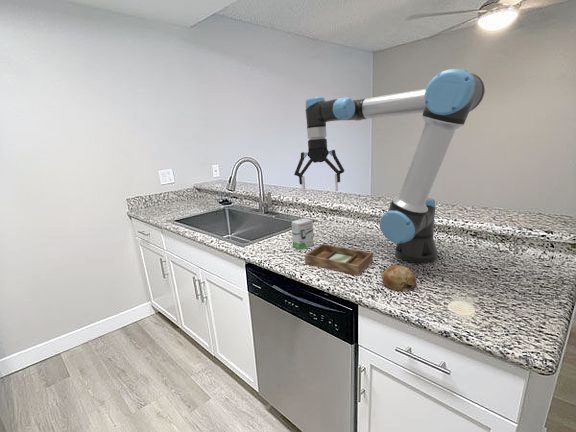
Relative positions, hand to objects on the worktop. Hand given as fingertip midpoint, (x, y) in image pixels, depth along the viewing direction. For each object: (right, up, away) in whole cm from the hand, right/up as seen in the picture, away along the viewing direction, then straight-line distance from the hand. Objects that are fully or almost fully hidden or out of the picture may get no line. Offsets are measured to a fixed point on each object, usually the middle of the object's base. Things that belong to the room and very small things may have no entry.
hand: (320, 191), depth 126 cm
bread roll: (+22, -32, -28) cm, 48 cm away
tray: (+6, -28, -10) cm, 30 cm away
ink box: (-7, -24, +10) cm, 27 cm away
